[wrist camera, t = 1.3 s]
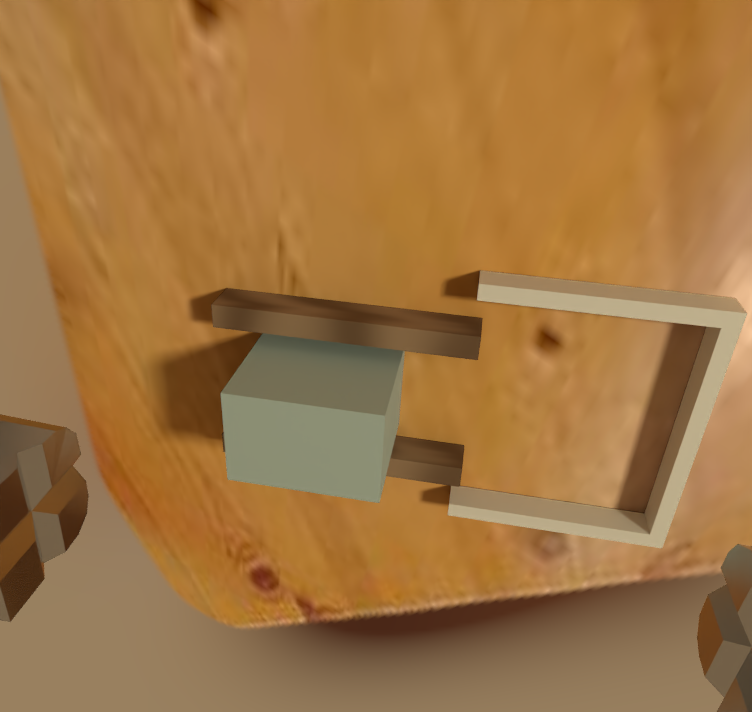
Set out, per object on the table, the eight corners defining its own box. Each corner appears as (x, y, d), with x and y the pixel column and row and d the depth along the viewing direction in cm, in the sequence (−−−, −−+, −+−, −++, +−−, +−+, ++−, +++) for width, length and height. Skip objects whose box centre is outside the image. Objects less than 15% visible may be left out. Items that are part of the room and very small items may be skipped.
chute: (236, 430, 47) (223, 451, 45) (226, 288, 41) (211, 304, 39) (461, 463, 45) (459, 486, 43) (482, 318, 39) (480, 337, 37)
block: (269, 405, 45) (227, 479, 38) (266, 327, 42) (220, 393, 35) (399, 423, 44) (379, 503, 37) (405, 344, 41) (385, 415, 34)
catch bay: (449, 495, 46) (447, 515, 45) (480, 270, 38) (478, 283, 36) (655, 526, 44) (662, 548, 43) (735, 298, 36) (747, 313, 34)
